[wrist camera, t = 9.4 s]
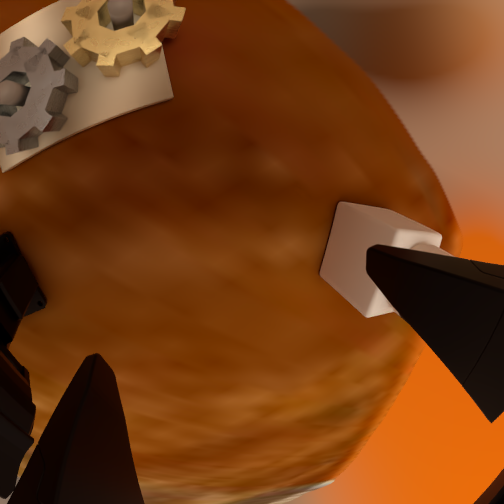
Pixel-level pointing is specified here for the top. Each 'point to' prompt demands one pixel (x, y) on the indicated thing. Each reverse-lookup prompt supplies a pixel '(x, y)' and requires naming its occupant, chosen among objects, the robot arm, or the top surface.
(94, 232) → the top surface
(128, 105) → the birch gear board
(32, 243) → the top surface
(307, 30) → the top surface
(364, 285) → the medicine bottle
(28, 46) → the grey gear
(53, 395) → the top surface
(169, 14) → the brass gear
